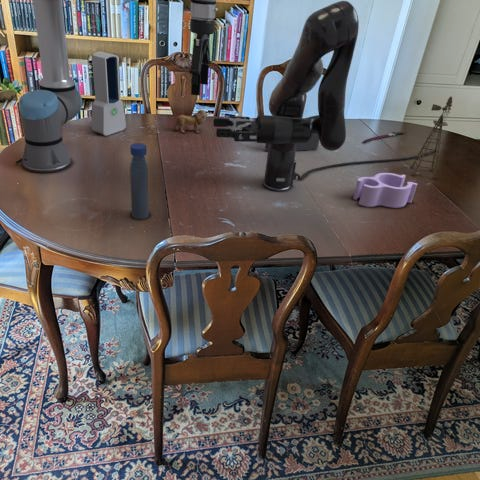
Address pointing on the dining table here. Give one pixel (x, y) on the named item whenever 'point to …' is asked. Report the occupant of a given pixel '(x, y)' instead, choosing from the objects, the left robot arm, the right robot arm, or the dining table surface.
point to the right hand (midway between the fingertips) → (215, 127)
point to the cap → (138, 149)
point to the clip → (384, 190)
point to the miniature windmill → (439, 123)
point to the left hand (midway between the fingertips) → (199, 89)
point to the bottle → (139, 187)
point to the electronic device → (107, 95)
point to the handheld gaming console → (306, 144)
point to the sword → (382, 136)
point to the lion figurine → (191, 120)
